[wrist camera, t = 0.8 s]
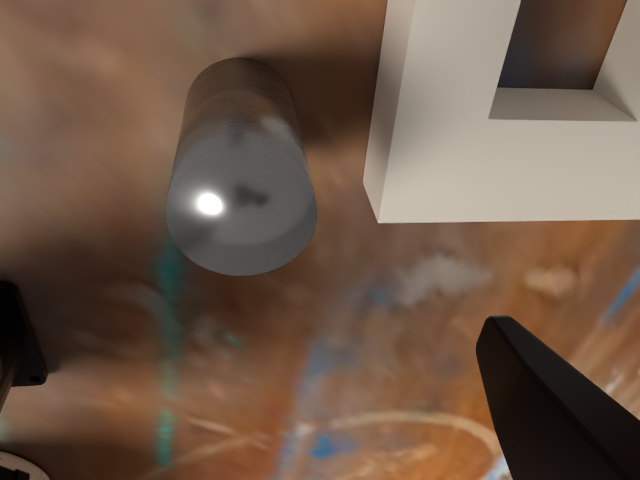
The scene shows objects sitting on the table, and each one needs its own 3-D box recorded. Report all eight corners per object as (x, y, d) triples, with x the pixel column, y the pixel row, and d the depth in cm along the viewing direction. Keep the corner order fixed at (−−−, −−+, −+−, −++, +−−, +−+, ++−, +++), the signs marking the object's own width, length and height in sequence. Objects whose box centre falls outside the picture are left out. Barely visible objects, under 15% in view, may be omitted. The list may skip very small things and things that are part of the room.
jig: (621, 181, 24) (664, 219, 21) (362, 182, 22) (377, 223, 20) (818, -231, 15) (924, -245, 13) (427, -282, 14) (466, -308, 11)
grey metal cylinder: (292, 160, 21) (312, 273, 16) (189, 159, 20) (172, 277, 15) (296, 60, 19) (322, 152, 13) (181, 56, 18) (156, 151, 13)
